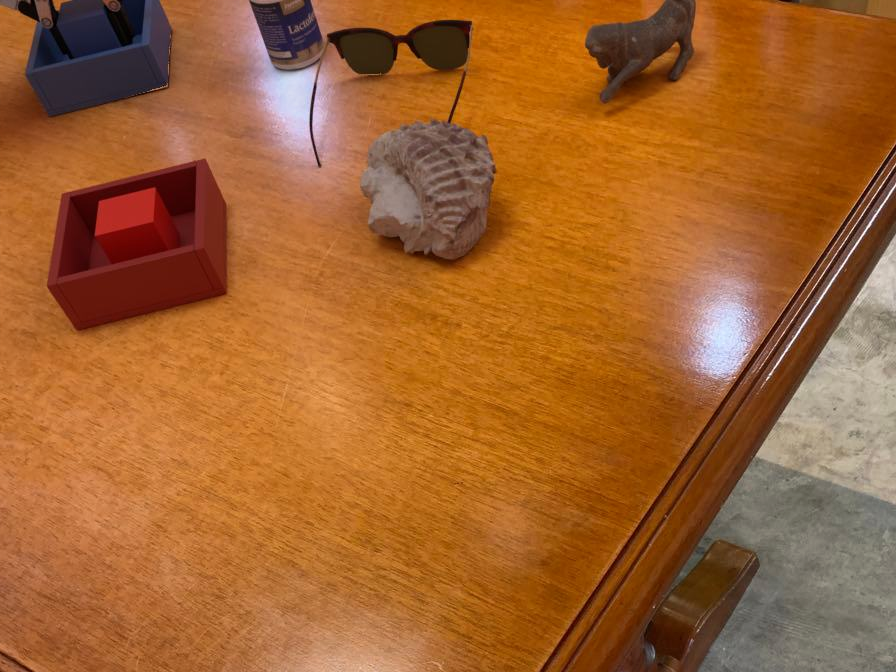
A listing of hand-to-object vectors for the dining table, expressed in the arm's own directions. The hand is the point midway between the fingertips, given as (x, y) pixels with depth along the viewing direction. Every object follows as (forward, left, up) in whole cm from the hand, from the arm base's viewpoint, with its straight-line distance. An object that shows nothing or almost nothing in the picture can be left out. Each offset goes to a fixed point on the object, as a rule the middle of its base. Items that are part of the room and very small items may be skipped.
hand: (102, 50), depth 107 cm
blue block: (0, 0, 0) cm, 0 cm away
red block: (+6, -36, -2) cm, 36 cm away
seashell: (+30, -39, -2) cm, 49 cm away
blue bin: (0, 0, -2) cm, 2 cm away
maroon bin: (+6, -36, -2) cm, 36 cm away
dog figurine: (+51, -26, -2) cm, 57 cm away
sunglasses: (+28, -22, -3) cm, 36 cm away
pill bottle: (+20, -7, -2) cm, 21 cm away
